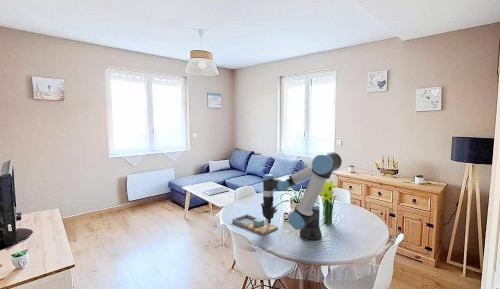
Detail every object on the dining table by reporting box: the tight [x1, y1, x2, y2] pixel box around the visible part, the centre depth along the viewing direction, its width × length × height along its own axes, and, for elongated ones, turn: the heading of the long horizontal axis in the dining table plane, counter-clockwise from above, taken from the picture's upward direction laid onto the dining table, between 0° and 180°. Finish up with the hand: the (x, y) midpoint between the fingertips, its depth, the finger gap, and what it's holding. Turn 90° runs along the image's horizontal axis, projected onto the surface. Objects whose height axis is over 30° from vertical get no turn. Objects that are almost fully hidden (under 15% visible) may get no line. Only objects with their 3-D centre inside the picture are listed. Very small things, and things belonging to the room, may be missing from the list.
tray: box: [232, 214, 258, 228], centre depth 213 cm, size 13×16×3 cm
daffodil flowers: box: [319, 178, 339, 226], centre depth 207 cm, size 17×15×35 cm
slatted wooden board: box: [243, 221, 279, 236], centre depth 201 cm, size 20×16×2 cm
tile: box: [253, 217, 265, 227], centre depth 202 cm, size 6×6×4 cm
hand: (268, 227), depth 195 cm, fingers closed
